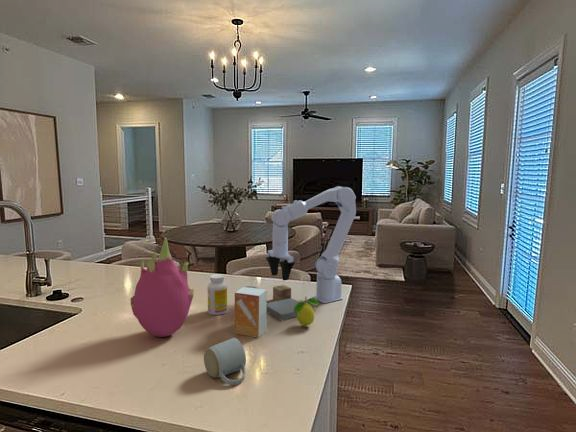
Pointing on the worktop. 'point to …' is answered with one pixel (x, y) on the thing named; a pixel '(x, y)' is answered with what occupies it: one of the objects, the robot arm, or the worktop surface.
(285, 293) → the walnut block
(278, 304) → the slate tile
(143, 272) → the pink dragon fruit
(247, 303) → the small box
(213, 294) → the supplement bottle
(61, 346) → the worktop surface
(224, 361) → the ceramic mug
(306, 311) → the lemon
